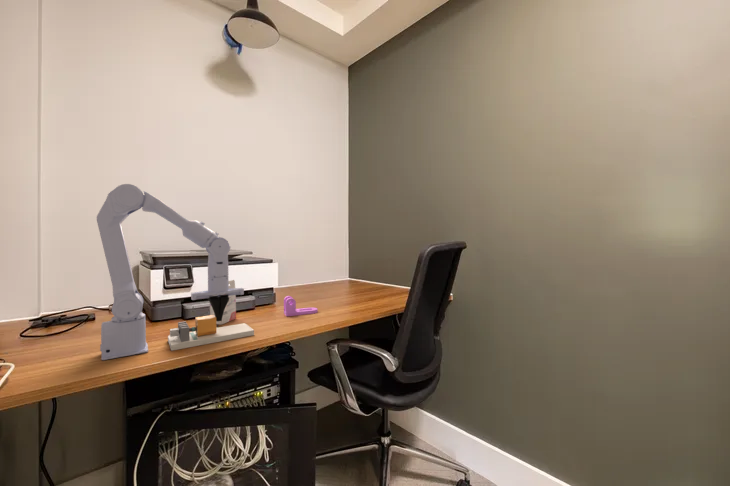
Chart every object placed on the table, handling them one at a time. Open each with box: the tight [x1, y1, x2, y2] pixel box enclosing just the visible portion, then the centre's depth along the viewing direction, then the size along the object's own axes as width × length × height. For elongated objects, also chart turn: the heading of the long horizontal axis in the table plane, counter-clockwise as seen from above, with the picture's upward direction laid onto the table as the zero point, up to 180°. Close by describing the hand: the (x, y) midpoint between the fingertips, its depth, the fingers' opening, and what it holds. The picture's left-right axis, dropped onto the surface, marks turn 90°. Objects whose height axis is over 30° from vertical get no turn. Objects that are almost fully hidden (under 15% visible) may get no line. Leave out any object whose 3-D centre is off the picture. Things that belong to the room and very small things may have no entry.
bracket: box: [283, 295, 319, 317], centre depth 124 cm, size 13×6×7 cm, turn 113°
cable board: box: [167, 320, 255, 352], centre depth 94 cm, size 22×10×5 cm, turn 127°
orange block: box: [194, 314, 217, 336], centre depth 93 cm, size 5×4×5 cm
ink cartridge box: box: [209, 279, 237, 325], centre depth 112 cm, size 9×5×15 cm, turn 168°
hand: (218, 320), depth 95 cm, fingers closed
